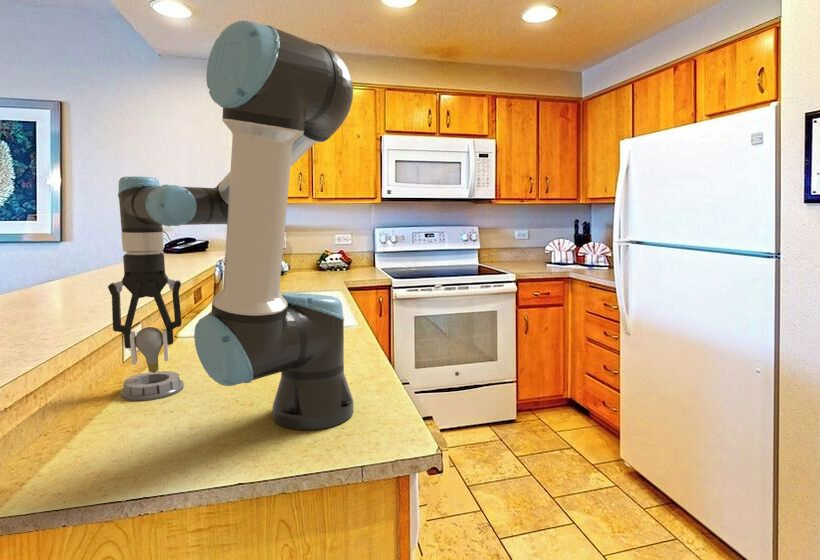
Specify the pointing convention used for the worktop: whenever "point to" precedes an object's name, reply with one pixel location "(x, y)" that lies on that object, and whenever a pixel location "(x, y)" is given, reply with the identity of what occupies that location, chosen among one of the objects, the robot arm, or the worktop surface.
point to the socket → (151, 386)
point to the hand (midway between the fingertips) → (150, 360)
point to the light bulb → (150, 346)
